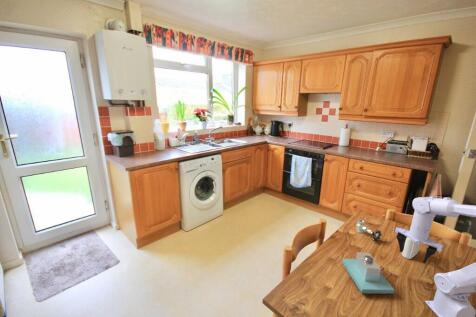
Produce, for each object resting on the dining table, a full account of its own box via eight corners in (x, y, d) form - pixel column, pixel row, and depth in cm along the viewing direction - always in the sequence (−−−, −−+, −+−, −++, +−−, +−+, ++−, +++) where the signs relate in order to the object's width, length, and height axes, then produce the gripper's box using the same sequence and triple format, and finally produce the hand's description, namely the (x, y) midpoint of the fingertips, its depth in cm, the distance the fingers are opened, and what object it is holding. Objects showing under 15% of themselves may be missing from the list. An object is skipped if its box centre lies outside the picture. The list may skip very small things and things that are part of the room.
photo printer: (408, 247, 109) (414, 225, 105) (419, 252, 105) (425, 230, 102) (399, 255, 103) (405, 232, 100) (410, 260, 100) (416, 237, 96)
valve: (352, 230, 122) (372, 243, 112) (353, 220, 121) (374, 231, 110) (360, 228, 125) (380, 240, 114) (362, 217, 123) (383, 229, 113)
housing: (367, 265, 92) (369, 251, 91) (378, 282, 84) (381, 266, 82) (354, 264, 93) (357, 250, 91) (364, 281, 84) (367, 265, 82)
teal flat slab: (393, 296, 81) (394, 289, 80) (360, 295, 81) (361, 289, 80) (368, 265, 97) (369, 259, 96) (341, 264, 97) (342, 258, 96)
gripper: (394, 221, 87) (388, 250, 90) (443, 239, 76) (433, 272, 79) (401, 216, 91) (394, 244, 95) (447, 232, 80) (438, 263, 83)
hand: (412, 256), depth 87 cm, fingers open, 7 cm apart
